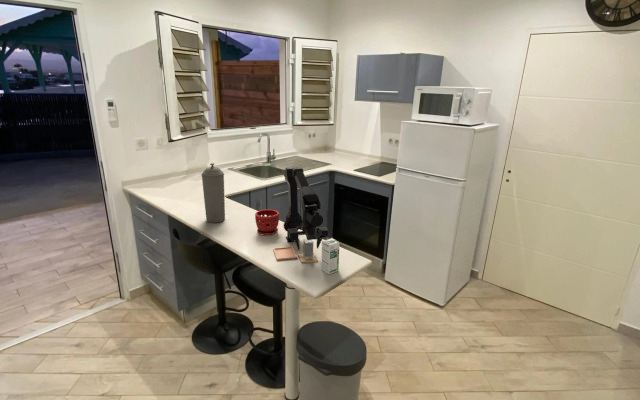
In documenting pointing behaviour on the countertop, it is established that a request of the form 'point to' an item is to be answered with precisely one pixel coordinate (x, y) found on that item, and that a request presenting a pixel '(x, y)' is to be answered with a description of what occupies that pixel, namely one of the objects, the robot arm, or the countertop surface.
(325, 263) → the syrup box
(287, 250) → the tray
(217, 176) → the canister
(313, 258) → the stud base
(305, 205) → the robot arm
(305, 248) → the strut
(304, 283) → the countertop surface
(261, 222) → the plant pot
